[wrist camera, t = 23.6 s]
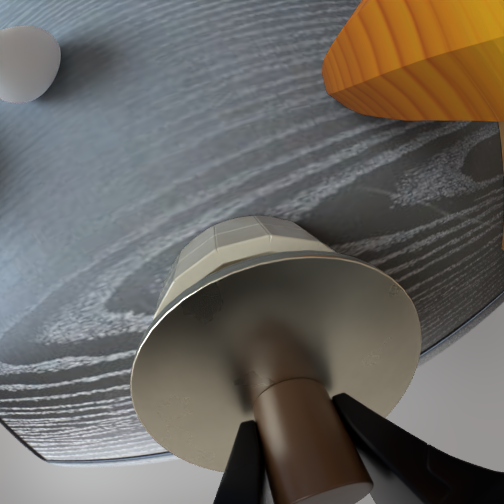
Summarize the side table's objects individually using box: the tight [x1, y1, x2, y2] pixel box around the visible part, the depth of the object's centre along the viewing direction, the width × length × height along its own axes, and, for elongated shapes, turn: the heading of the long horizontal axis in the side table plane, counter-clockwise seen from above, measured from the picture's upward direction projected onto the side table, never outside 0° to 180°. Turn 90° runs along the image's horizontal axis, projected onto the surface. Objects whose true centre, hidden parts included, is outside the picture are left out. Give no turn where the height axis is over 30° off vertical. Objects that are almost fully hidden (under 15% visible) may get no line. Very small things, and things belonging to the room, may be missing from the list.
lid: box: [130, 250, 422, 504], centre depth 7 cm, size 10×10×4 cm
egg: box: [0, 26, 61, 103], centre depth 7 cm, size 4×4×6 cm
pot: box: [152, 216, 338, 321], centre depth 13 cm, size 9×9×4 cm
